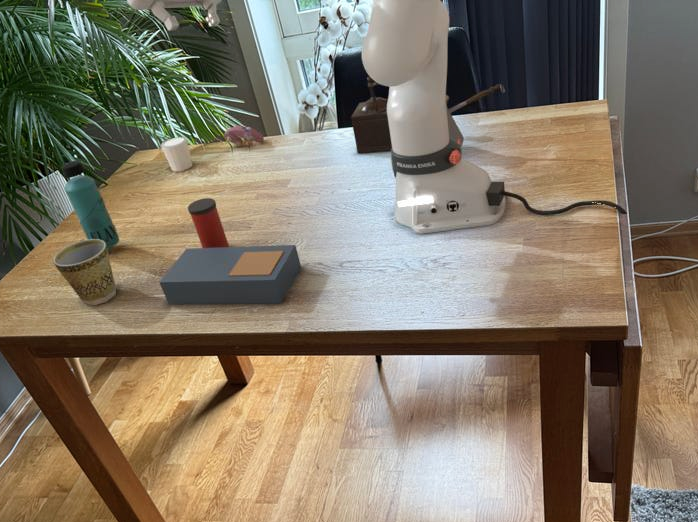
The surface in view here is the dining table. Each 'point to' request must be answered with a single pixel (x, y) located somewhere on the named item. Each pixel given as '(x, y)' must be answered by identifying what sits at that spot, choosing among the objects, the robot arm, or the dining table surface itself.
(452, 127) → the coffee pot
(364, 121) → the manual coffee grinder
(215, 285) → the platform
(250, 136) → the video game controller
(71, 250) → the ceramic cup
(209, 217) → the red canister
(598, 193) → the dining table surface
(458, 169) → the robot arm
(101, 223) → the beverage bottle
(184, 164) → the white short cylinder
